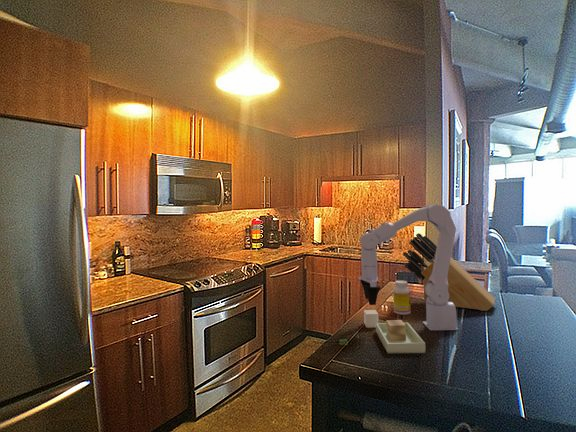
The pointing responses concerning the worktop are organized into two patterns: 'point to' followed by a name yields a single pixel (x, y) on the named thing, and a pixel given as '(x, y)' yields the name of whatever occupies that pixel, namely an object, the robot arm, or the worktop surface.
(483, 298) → the knife block
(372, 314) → the cream box
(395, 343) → the tote tray
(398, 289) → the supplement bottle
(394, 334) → the oak block
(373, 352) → the worktop surface
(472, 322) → the worktop surface
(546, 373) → the worktop surface
